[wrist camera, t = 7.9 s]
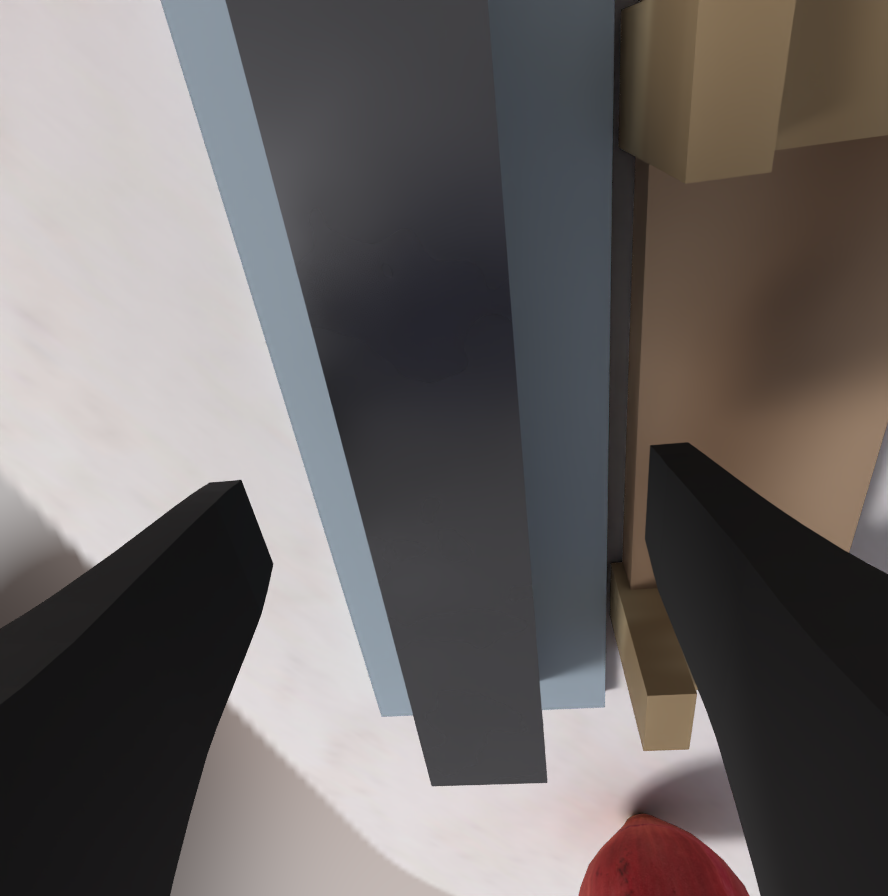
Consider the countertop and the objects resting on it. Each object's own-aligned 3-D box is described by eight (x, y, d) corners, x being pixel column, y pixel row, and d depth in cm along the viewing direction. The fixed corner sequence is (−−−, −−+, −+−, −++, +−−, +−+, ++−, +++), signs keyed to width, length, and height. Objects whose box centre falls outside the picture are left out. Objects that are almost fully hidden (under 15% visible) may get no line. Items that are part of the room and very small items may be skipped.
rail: (471, -130, 8) (471, -216, 6) (537, 681, 18) (547, 782, 15) (268, -91, 9) (184, -157, 6) (437, 686, 18) (431, 786, 16)
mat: (611, -317, 8) (619, -339, 7) (601, 692, 19) (604, 707, 18) (111, -207, 9) (92, -221, 8) (383, 702, 20) (381, 716, 19)
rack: (1040, -193, 8) (1772, -530, 4) (808, 639, 17) (932, 852, 13) (623, -115, 9) (788, -319, 4) (608, 650, 18) (656, 855, 13)
